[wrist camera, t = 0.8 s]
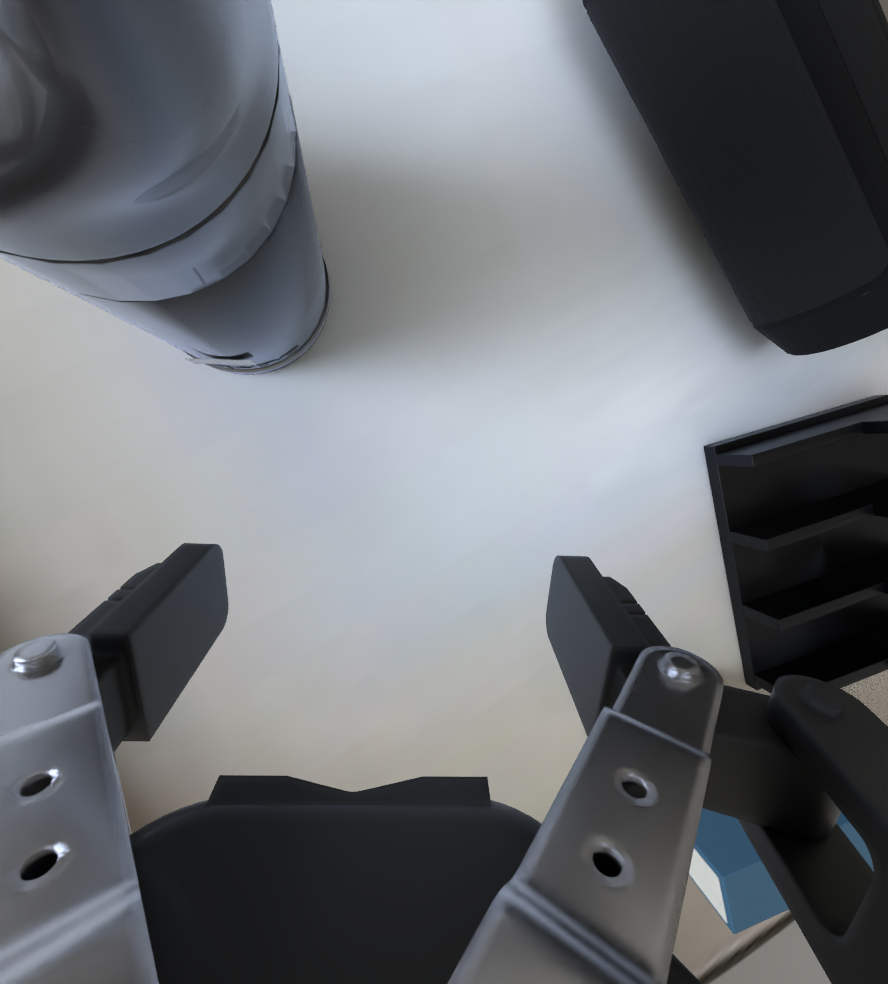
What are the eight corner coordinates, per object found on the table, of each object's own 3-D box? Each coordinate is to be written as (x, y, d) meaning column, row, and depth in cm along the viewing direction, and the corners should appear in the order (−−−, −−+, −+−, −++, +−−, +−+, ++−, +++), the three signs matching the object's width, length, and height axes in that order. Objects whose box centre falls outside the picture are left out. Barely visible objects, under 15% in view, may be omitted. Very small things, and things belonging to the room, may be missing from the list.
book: (582, 710, 33) (721, 877, 21) (698, 667, 35) (896, 800, 22) (592, 749, 34) (733, 937, 21) (705, 706, 35) (904, 858, 22)
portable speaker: (842, 292, 33) (1042, 231, 24) (734, 375, 33) (895, 347, 23) (661, -83, 29) (819, -356, 19) (530, 3, 28) (623, -234, 18)
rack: (703, 446, 33) (794, 448, 26) (873, 395, 35) (1000, 384, 28) (745, 683, 35) (838, 742, 29) (901, 624, 37) (1023, 666, 30)
